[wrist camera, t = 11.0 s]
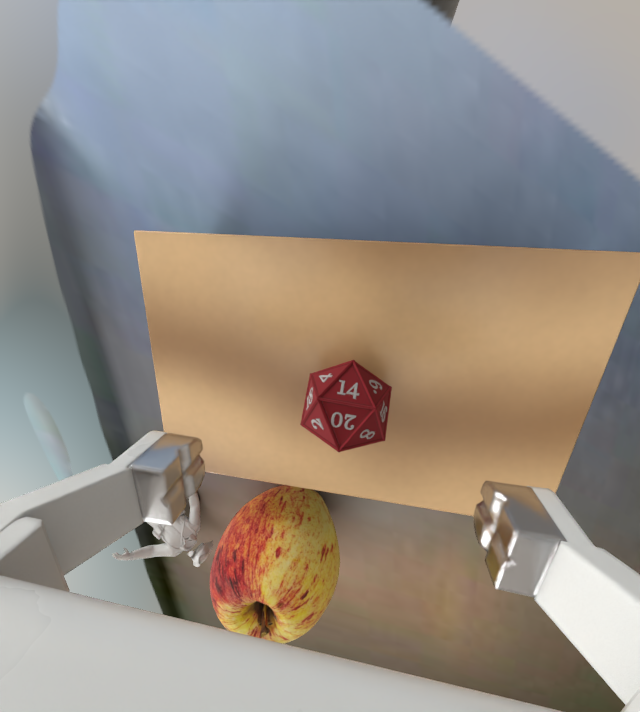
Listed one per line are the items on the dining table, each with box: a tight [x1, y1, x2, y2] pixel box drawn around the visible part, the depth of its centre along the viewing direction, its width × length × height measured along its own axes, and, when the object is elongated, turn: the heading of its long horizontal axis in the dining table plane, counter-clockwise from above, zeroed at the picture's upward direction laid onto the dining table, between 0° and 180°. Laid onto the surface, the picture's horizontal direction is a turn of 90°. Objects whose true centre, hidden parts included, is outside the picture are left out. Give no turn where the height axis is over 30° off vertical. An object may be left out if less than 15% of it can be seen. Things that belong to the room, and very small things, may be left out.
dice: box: [300, 360, 392, 452], centre depth 13 cm, size 4×4×4 cm
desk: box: [134, 230, 640, 516], centre depth 18 cm, size 14×22×6 cm, turn 88°
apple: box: [210, 485, 340, 643], centre depth 22 cm, size 9×9×10 cm
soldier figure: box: [111, 461, 213, 567], centre depth 27 cm, size 8×5×12 cm
